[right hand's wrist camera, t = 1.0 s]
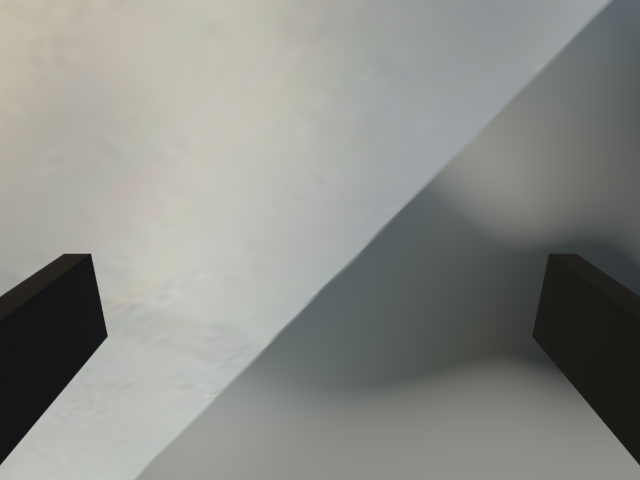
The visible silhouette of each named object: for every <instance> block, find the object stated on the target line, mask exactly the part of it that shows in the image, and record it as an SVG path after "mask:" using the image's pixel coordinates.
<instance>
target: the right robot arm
mask: <svg viewBox="0 0 640 480" xmlns="http://www.w3.org/2000/svg"><path fill="white" fill-rule="evenodd" d="M532 336H533V338H534V339H535V340H536V341H537V343H538V344H539V345H540V346H541V347H542V349H543V350H544V351H545V352H546V353H547V355H548V356H549V357H550V358H551V359H552V361H553V362H554V363H555V364H556V365H557V367H558V368H559V369H560V370H561V371H562V373H563V374H564V375H565V376H566V377H567V379H568V380H569V381H570V382H571V383H572V385H573V386H574V387H575V388H576V389H577V391H578V392H579V393H580V394H581V395H582V397H583V398H584V399H585V400H586V401H587V403H588V404H589V405H590V406H591V407H592V409H593V410H594V411H595V412H596V413H597V414H598V416H599V417H600V418H601V419H602V421H603V422H604V423H605V424H606V425H607V427H608V428H609V429H610V430H611V431H612V432H613V434H614V435H615V436H616V437H617V438H618V440H619V441H620V442H621V443H622V444H623V446H624V447H625V448H626V449H627V450H628V452H629V453H630V454H631V455H632V456H633V458H634V459H635V460H636V461H637V462H638V464H639V465H640V297H639V296H638V295H636V294H635V293H633V292H632V291H630V290H629V289H627V288H626V287H624V286H623V285H621V284H620V283H618V282H617V281H616V280H614V279H613V278H611V277H610V276H608V275H607V274H605V273H604V272H602V271H601V270H599V269H598V268H596V267H595V266H593V265H592V264H590V263H589V262H587V261H586V260H584V259H583V258H581V257H580V256H578V255H577V254H549V256H548V261H547V266H546V271H545V276H544V281H543V286H542V291H541V296H540V301H539V306H538V311H537V316H536V321H535V325H534V330H533V335H532ZM107 337H108V335H107V330H106V325H105V321H104V316H103V311H102V306H101V301H100V296H99V291H98V286H97V281H96V276H95V271H94V266H93V261H92V256H91V254H63V255H62V256H60V257H59V258H57V259H56V260H54V261H53V262H51V263H50V264H48V265H47V266H45V267H44V268H42V269H41V270H39V271H38V272H36V273H35V274H33V275H32V276H30V277H29V278H27V279H26V280H24V281H23V282H22V283H20V284H19V285H17V286H16V287H14V288H13V289H11V290H10V291H8V292H7V293H5V294H4V295H2V296H1V297H0V465H1V464H2V462H3V461H4V460H5V459H6V458H7V456H8V455H9V454H10V453H11V452H12V450H13V449H14V448H15V447H16V446H17V444H18V443H19V442H20V441H21V440H22V438H23V437H24V436H25V435H26V434H27V432H28V431H29V430H30V429H31V428H32V427H33V425H34V424H35V423H36V422H37V421H38V419H39V418H40V417H41V416H42V415H43V413H44V412H45V411H46V410H47V409H48V407H49V406H50V405H51V404H52V403H53V401H54V400H55V399H56V398H57V397H58V395H59V394H60V393H61V392H62V391H63V389H64V388H65V387H66V386H67V385H68V383H69V382H70V381H71V380H72V379H73V377H74V376H75V375H76V374H77V373H78V371H79V370H80V369H81V368H82V367H83V365H84V364H85V363H86V362H87V361H88V359H89V358H90V357H91V356H92V355H93V353H94V352H95V351H96V350H97V349H98V347H99V346H100V345H101V344H102V343H103V341H104V340H105V339H106V338H107Z"/></svg>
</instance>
